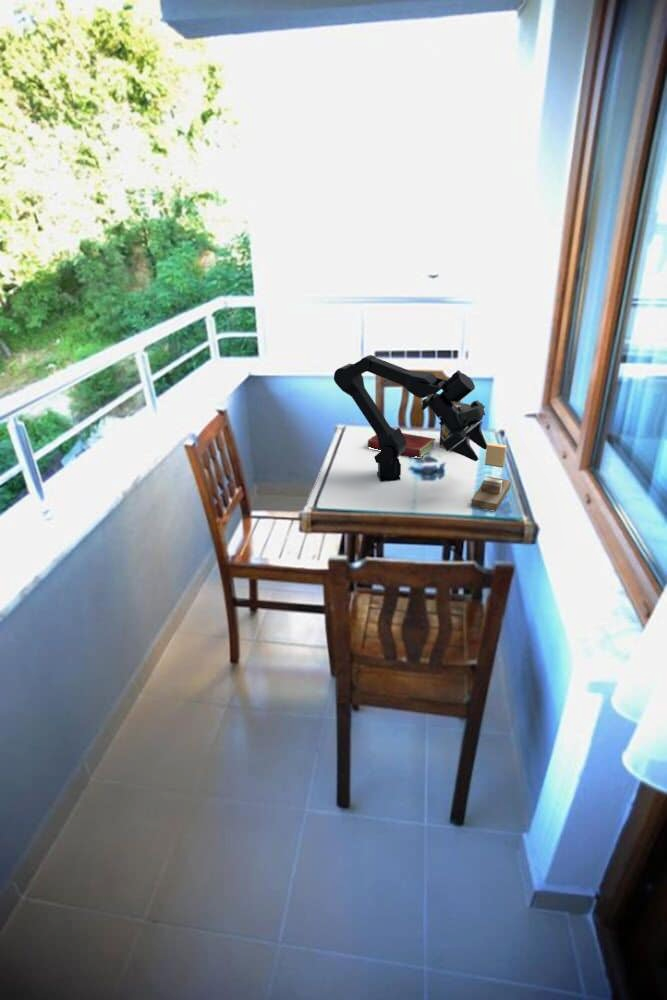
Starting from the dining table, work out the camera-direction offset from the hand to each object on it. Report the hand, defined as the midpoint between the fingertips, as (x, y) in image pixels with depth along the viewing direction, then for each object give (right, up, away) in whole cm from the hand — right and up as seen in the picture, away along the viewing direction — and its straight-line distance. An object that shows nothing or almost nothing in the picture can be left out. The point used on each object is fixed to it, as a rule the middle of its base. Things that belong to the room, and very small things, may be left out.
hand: (481, 454), depth 142 cm
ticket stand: (+4, -12, +4) cm, 13 cm away
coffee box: (+1, +5, +38) cm, 38 cm away
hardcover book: (-17, +5, +40) cm, 44 cm away
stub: (+3, -3, -1) cm, 5 cm away
